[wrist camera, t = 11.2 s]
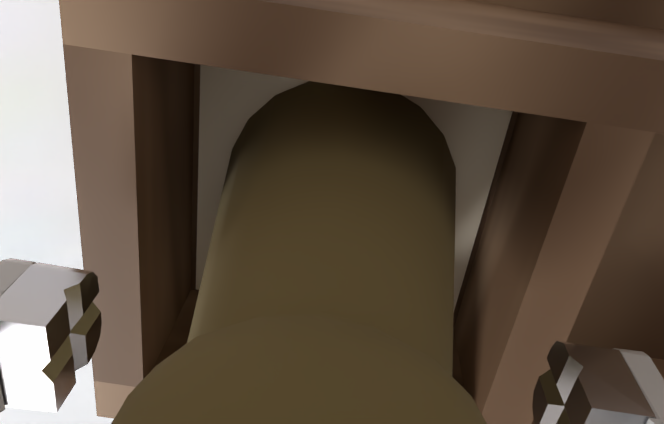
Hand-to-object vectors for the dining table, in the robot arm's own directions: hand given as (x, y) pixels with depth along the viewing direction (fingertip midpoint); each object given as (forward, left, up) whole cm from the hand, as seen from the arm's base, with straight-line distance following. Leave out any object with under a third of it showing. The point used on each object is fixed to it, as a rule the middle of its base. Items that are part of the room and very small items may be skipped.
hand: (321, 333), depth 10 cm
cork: (0, 0, -6) cm, 6 cm away
